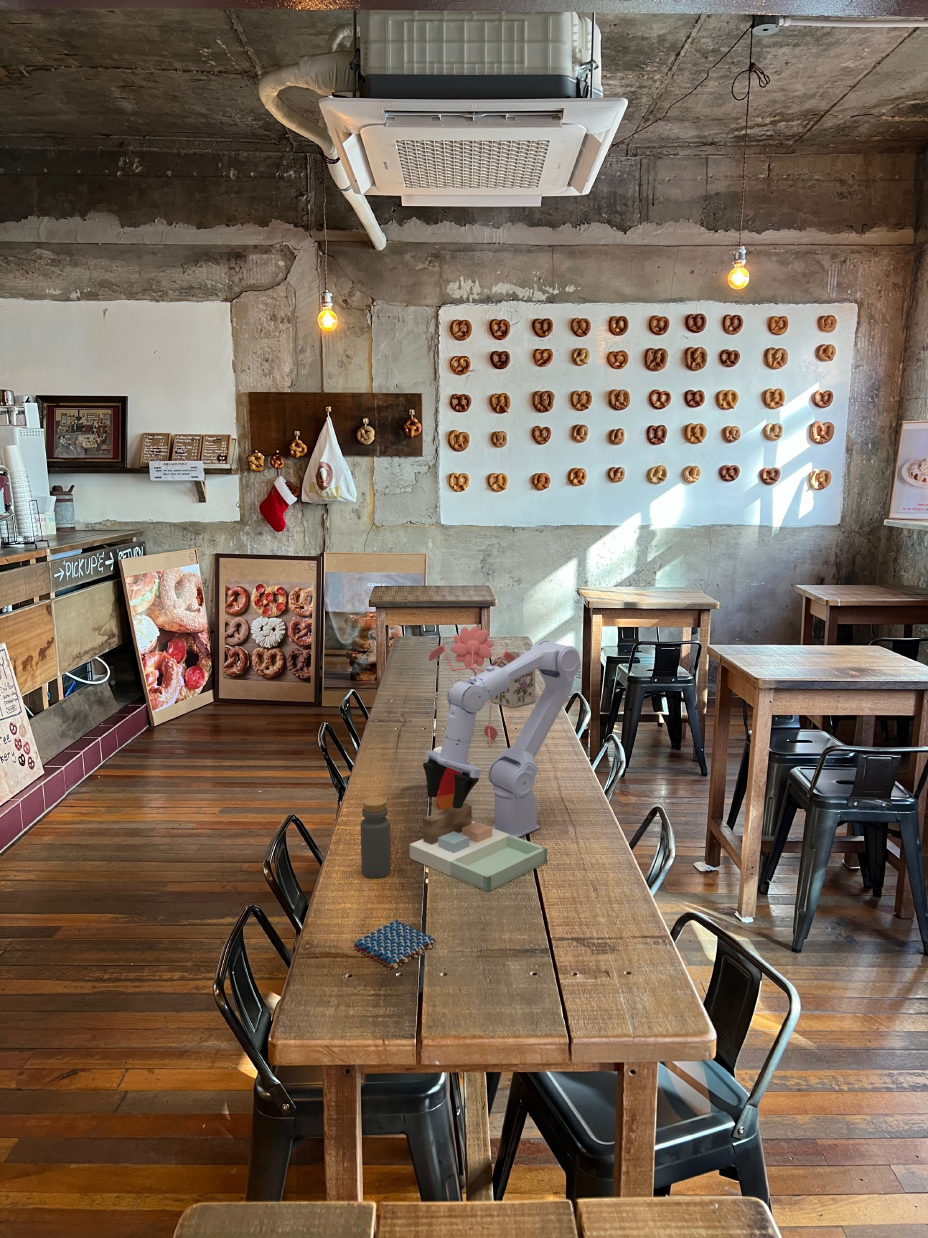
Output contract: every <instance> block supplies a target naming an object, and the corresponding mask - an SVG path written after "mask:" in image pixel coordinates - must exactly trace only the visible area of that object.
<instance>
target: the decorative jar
mask: <svg viewBox="0 0 928 1238" xmlns="http://www.w3.org/2000/svg"><path fill="white" fill-rule="evenodd" d="M508 652H510V653H512V654H513V655H514V656H515V657H516V659H517V658H518V657H520V656H521V655H520V652H519V651H515V650H514V651H512V650H511V651H508ZM501 657H502V656H498V657H496V658H495V659H494V661H493V662H492V663H491V664H490V665H489V666H495V665H496V664H497V662H498V661H499V660H500V658H501ZM507 664H509V663H508V662H507V661H506V660H505V659H504V657H503V659H502V660H501V661H500V663H499V664H498V665H497V666H498V667H500V668H503V667H504V666H506V665H507ZM489 700H490V703H492V702H493V703H492V704H495V703H496V705H499V706H503V707H507V708H510V709H515V708H518V707H523V706H527V705H532V704H536V669H535V670H533V671H531V672H529V673H527V674H525V675H523V676H521V677H519V678H516V679H514V680H512V681H510V682H509V687H508V689H507V690H505V691H503V692H501V693H500V694H498V695H496V696H494V697H493V698H491V699H489Z"/></svg>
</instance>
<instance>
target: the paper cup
mask: <svg viewBox="0 0 928 1238" xmlns="http://www.w3.org/2000/svg"><path fill="white" fill-rule="evenodd" d="M441 749H442V745H440V746H437V747H435V748H434V749H433V750H432V751H435V752H438V753H441ZM454 774H462V773H461V772H459V771H456V770H453V769H451V768H448V767H447V768H446V770H445V772H444V774H443V777H442V779H441V782H440V786H439V791H438V794H437V796H436V797H435V799H436V800H435V801H436V803H435V804H436V807H437V809H439V810H442V811H444V810H447V809H449V808H452V807H453V799H454V793H455V779H454Z"/></svg>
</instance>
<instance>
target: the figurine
mask: <svg viewBox="0 0 928 1238" xmlns="http://www.w3.org/2000/svg"><path fill="white" fill-rule="evenodd" d="M489 635H490V632H489V631H488V630H487V629H486V630H485V629H482V630H480V628H479V626H473V627H471V628H470V629H469V628H468V627H466V626H462V628H461V629H460V633H459V634H455V635H454V636H453V641H454V644H453V645H451V646H450V651H451V652H452V653H453V654H455V657H454V660H455V662H456V663H464V667H460V668H454V667H453V665H452V662H451V660H450V657H449V654H448V652H447V650H446V649H447V648H446V647H445V646H446V645H445V644H441V645H438V646H437V647H435V648H434V649H433V650H432V651H431V652H430V654H429V655H428V661H429V662H432V661H433V660H435V659H436V660H437V658H439V657H440V656H441V655H442V654H443V653H445V656H446V659H447V662H448V664H449V667H450V669H451V670H452V672H456V671H462V670H468V669H469V670H472V672H473V673H474V676H473V677H475V676H477V675H478V674H477V672H476V671H479V672H481V673H482V672H484V671H486V669H482V668H478V667H482V666H483V665H484V662H485V659H491V658H492V657H493V653H492V650H491V648H492V647H494V642H493V641H492V640H490V639H489V638H488V637H489ZM500 657H501V658H500V660H499V661H498V662H497V664H496V665H495V666H497V665H498V664H499V663H500V661H501V660H502V659H503V657H504V659H505V660H506V661H507V662H508V663H510V662H512V661H514V660H515V659H516V657H515V656H514V655H513V654H512V653H510V652H509V651H508V650H505V651H504V652H503V654H502V656H500ZM474 665H475V666H476V667H474ZM477 666H478V667H477ZM485 704H488V705H490V706H489V716H488V724H487V725H485V726H484V728H483V732H484V733H483V734H484V735H485V737H487V738H488V747H489V748H491V747H492V745H491V740H492V741H495V740H496V738H497V737H498V731H497V728H496V727H494V726H493V725H491V715H492V707H493V705H492V703H491V702H488V701H487V702H486V703H485Z"/></svg>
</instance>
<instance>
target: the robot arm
mask: <svg viewBox="0 0 928 1238" xmlns="http://www.w3.org/2000/svg"><path fill="white" fill-rule="evenodd" d="M519 656H520V657H518V658H517V659H515V660H514V661H512V662H510V663H509V664H507V665H506V666H504V667H503V668H500V667H498V666H490V665H489V666H486V667H485V670H486V671H484V672H482V671H481V673H479V674H477V675H476V676H475V675H474V676H475V677H474V676H470V677H469V678H468V680H466V681H457V682H455V683H454V684H453V685H452V686H451V687H450V689H449V691H447V692H446V700H447V702H448V710H447V712H448V716H447V721H446V725H445V726H446V727H445V730H444V735H443V741H442V745H441V746H442V749H441V753H438V752H435V751H433V750H425V751H426V752H425V756H424V760H426V762H423V764H422V767H423V769H424V773H425V778H426V786H427V787H426V789H427V797H428V798H436V796H437V794H438V791H439V786H440V782H441V779H442V777H443V774H444V772H445V770H446V768H447V767H448V768H451V769H453V770H456V771H459V772H461V773H462V774H454V779H455V793H454V799H453V808H462V806H463V803H464V804H465V802H466V799H467V797H468V795H469V793H470V792H471V791H472V790H473V788H474V787H475V786H476V784H477V783H478V782H479V779H480V777H481V771H482V768H479V767H477V766H476V765H474V764H472V763H470V762H468V757H469V752H470V747H471V743H472V742H471V741H472V739H473V738H472V737H473V734H474V733H473V732H474V727H475V724H476V719H477V718H476V717H477V713H478V712H480V711H481V710H482V709H483V708H484V706H485V705H486V704H487V703H486V702H488V701H489V700H490V699H491V698H493V697H494V696H496V695H498V694H500V693H501V692H503V691H505V690H507V689H508V687H509V682H510V681H512V680H514V679H516V678H519V677H521V676H523V675H525V674H527V673H529V672H531V671H533V670H535V671H536V670H538V672H539V674H540V676H541V678H542V679H543V681H544V682H543V683H544V689H543V691H542V693H541V695H540V696H539V698H538V699H537V702H535V706H534V707H533V708H532V711H531V712H530V714H529V716H528V718H527V719H526V721H525V722H524V723H525V724H524V725H523V727H522V729H521V731H520V732H519V734H518V736H517V738H516V740H515V741H514V743H513V745H511V746H510V747H509V748H506V749H504V750H502V751H501V753H500V754H499V756H498V757H497V758H496V759H495V760H493V762H492V763H491V764H490V766H489V767H488V771H487V778H488V781H489V783H490V784H491V785H492V789H493V790H494V824H493V825H491V826H490V827H492V828H493V829H496V830H499V831H502V832H504V833H507V834H510V835H512V836H515V837H518V838H520V837H523V836H525V835H528V834H529V833H531V832H534V831H536V830H538V829H540V828H541V826H540V825H538V819H537V818H538V803H537V799H538V798H537V797H536V794H535V792H534V791H533V790H532V789H533V787H534V784H535V780H536V779H535V778H536V776H537V774H538V772H539V767H538V765H537V762H536V760H535V758H536V756H537V755H538V754H539V753H538V752H539V751H540V749H541V747H542V745H543V743H544V741H545V740H546V738H547V736H548V734H549V733H550V731H551V729H552V727H553V725H554V724H555V721H556V719H557V718H558V715H559V714H560V712H561V710H562V708H563V706H564V705H565V703H566V701H567V699H568V697H569V696H570V694H571V692H572V689H573V685H574V681H575V678H576V676H577V674H578V672H579V670H580V669H581V666H582V662H581V658H580V653H579V651H578V650H577V648H576V647H574V646H572V645H565V644H564V645H563V644H560V643H555V642H551V641H549V640H541V641H540V642H538V643H536V644H533V645H531V647H530V649H529V650H528V651H526V652H525V653H523V654H521V655H519Z"/></svg>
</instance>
